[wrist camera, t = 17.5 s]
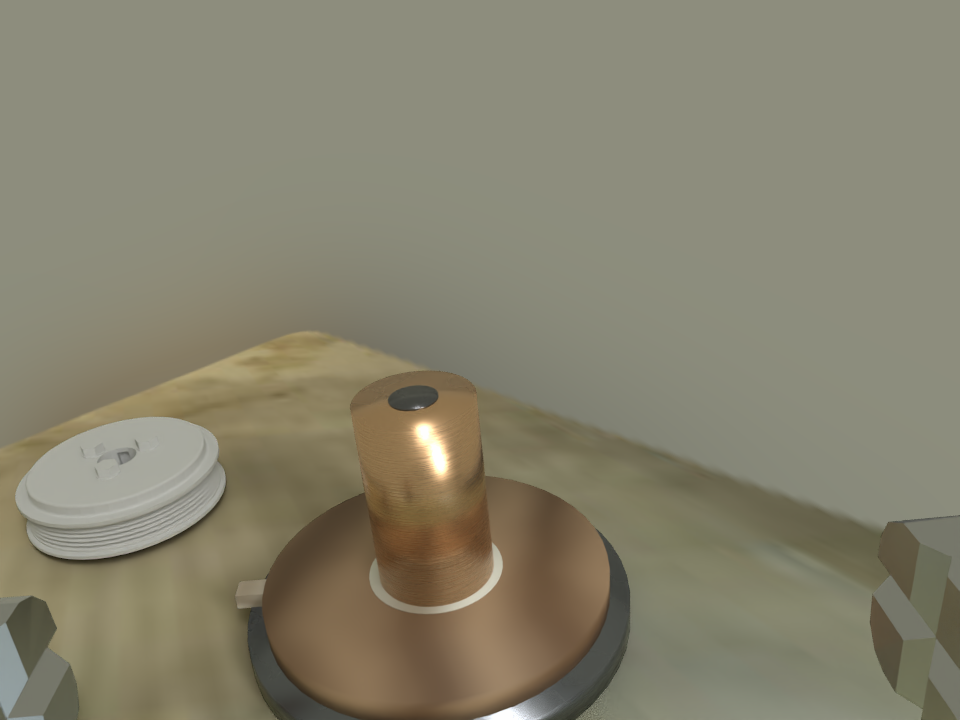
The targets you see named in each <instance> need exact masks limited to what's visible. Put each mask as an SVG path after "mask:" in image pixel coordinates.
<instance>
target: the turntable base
mask: <svg viewBox="0 0 960 720" xmlns="http://www.w3.org/2000/svg"><path fill="white" fill-rule="evenodd" d="M595 529H596V528H595ZM596 531H597V532H598V534H599V536H600V537H601V539H602V541H603V543H604V546H605V549H606V551H607V555H608V561H609V567H610V605H609V609H608V613H607V618H606V621H605V624H604V626H603V628H602V630H601V633H600V635H599V637H598V639H597V640H596V642H595V643H594V645H593V646H592V648H591V649H590V651H589V652H588V653H587V654H586V656H585V657H584V658H583V659H582V660H581V661H580V662H579V663H578V664H577V666H576V667H575V668H574V669H572V670H571V671H570V672H569V673H568V674H566V675H565V676H564V677H563V678H562V679H560V680H559V681H558V682H557V683H555V684H554V685H552V686H551V687H549V688H547V689H546V690H544V691H543V692H541V693H540V694H538V695H536V696H534V697H532V698H530V699H528V700H526V701H524V702H522V703H520V704H518V705H516V706H514V707H511V708H508V709H505V710H503V711H500V712H497V713H494V714H491V715H488V716H484V717H480V718H476V719H472V720H575V719H576V718H577V717H579V716H580V715H581V714H582V713H583V712H584V711H585V710H586V709H588V708H589V707H590V706H591V705H592V704H593V703H594V702H595V701H596V699H597V698H598V697H599V696H600V695H601V693H602V692H603V691H604V690H605V689H606V688H607V686H608V685H609V683H610V682H611V680H612V678H613V677H614V675H615V673H616V672H617V670H618V668H619V666H620V664H621V661H622V659H623V656H624V654H625V651H626V648H627V643H628V638H629V633H630V590H629V585H628V580H627V575H626V572H625V570H624V567H623V565H622V562H621V560H620V558H619V556H618V555H617V553H616V551H615V550H614V548H613V547H612V545H611V544H610V543H609V542H608V541H607V540H606V538H605V537H604V536H603V535H602V534H601V533H600V532H599V531H598V530H597V529H596ZM267 577H268V575H267V576H266V578H265V579H267ZM248 646H249V651H250V656H251V661H252V665H253V669H254V673H255V677H256V681H257V683H258V686H259V688H260V691H261V693H262V696H263V698H264V700H265V701H266V703H267V704H268V706H269V707H270V709H271V710H272V712H273V713H274V715H275V716H276V717H277V718H278V719H279V720H360V719H357V718H354V717H350V716H347V715H344V714H341V713H338V712H336V711H334V710H332V709H329V708H327V707H325V706H323V705H321V704H319V703H317V702H316V701H314V700H313V699H311V698H310V697H308V696H307V695H305V694H304V693H302V692H301V691H300V690H299V689H298V688H297V687H296V686H295V685H294V684H293V683H292V682H290V681H289V680H288V679H287V677H286V676H285V674H284V673H283V672H282V670H281V669H280V667H279V666H278V665H277V662H276V660H275V658H274V656H273V654H272V651H271V649H270V644H269V640H268V636H267V632H266V627H265V623H264V618H263V614H262V606H261V607H251V612H250V617H249V622H248Z"/></svg>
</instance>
